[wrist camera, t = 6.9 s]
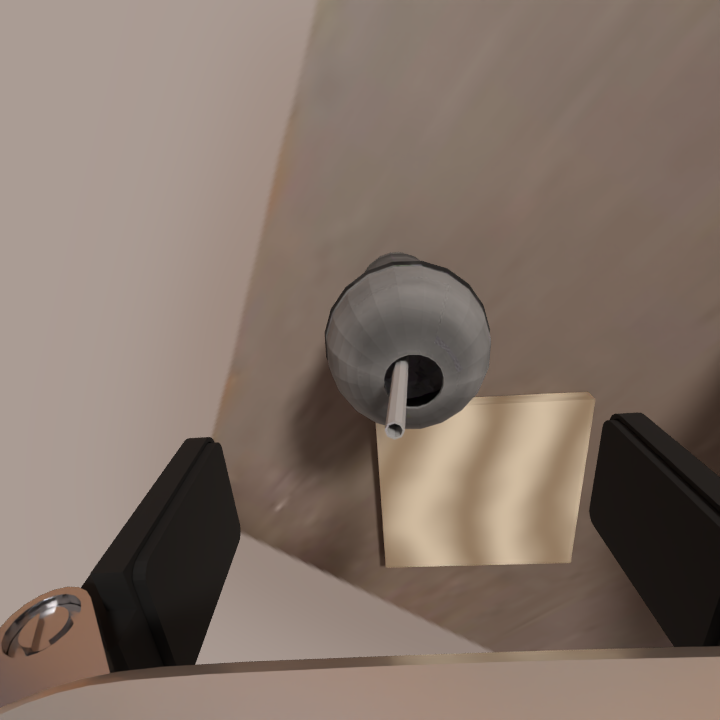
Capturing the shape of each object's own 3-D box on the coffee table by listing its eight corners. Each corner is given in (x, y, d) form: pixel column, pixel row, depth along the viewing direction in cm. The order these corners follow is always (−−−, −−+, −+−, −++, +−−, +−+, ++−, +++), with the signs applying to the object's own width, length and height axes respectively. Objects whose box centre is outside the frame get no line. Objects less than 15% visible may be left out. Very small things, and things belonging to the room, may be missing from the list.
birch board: (587, 391, 32) (595, 399, 31) (564, 551, 38) (570, 562, 37) (374, 402, 33) (374, 410, 32) (385, 556, 39) (385, 567, 38)
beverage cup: (396, 354, 31) (423, 600, 13) (321, 287, 30) (230, 461, 11) (471, 283, 29) (633, 457, 11) (395, 206, 27) (433, 255, 9)
